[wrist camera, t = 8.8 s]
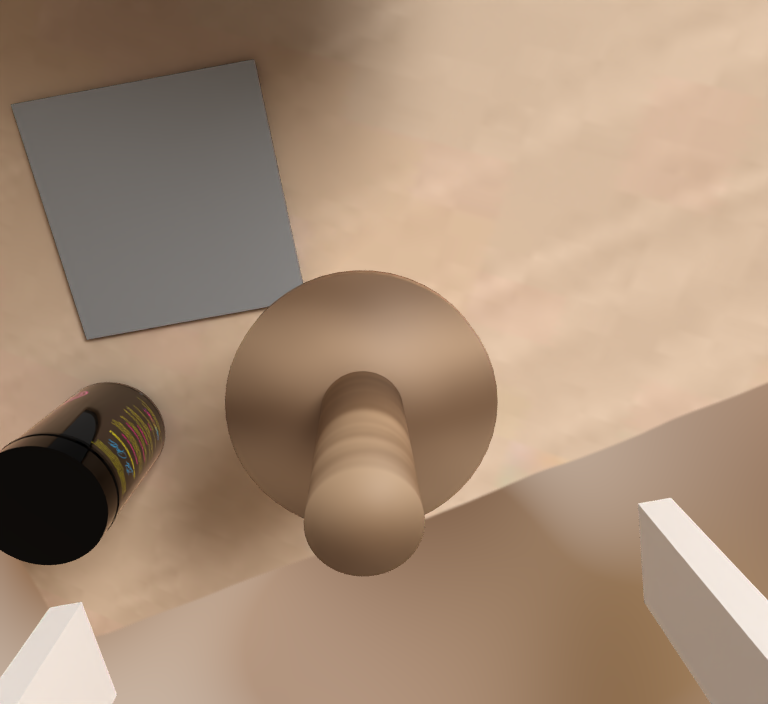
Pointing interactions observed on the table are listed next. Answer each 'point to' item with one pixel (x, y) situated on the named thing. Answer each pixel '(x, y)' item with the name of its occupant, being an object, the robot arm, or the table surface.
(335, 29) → the table surface
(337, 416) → the lid
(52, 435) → the supplement container
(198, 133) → the mat
